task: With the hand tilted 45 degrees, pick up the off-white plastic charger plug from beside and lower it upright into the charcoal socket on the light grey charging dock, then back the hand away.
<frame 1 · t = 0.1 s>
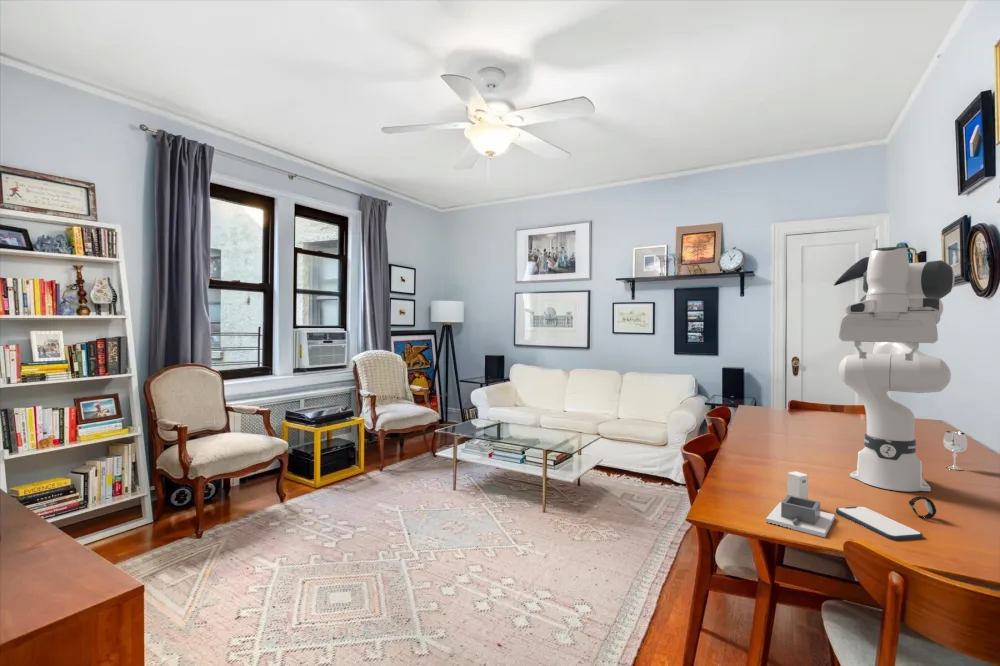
hand: (885, 359, 126), 39 cm above the table, tool pointing down, fingers open, 8 cm apart
dock: (800, 520, 118), on the table
charger: (797, 503, 129), on the table
smartwatch: (921, 517, 120), on the table
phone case: (876, 527, 116), on the table
wineglass: (954, 469, 158), on the table
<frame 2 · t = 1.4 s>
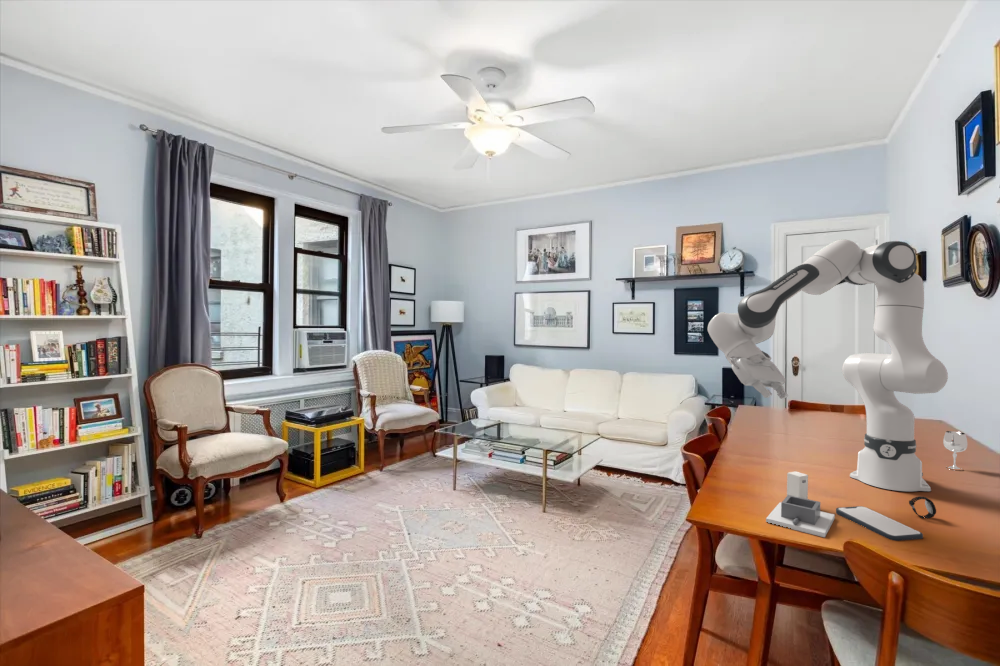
hand: (777, 397, 134), 28 cm above the table, tool tilted 45°, fingers open, 8 cm apart
nothing on the table moved.
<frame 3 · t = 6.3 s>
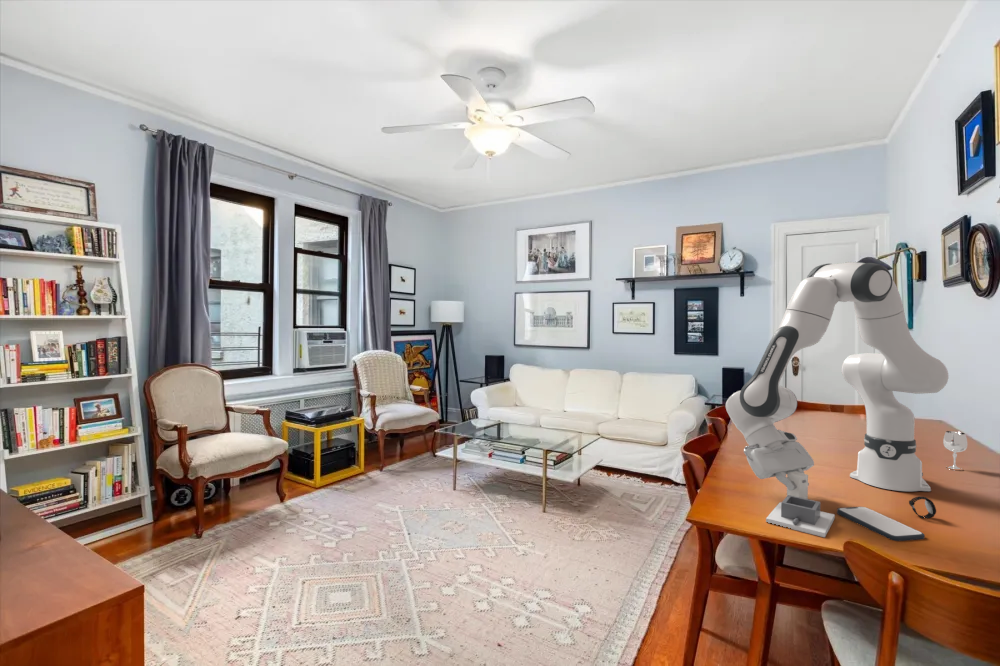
hand: (799, 487, 128), 4 cm above the table, tool tilted 45°, fingers closed on charger, 3 cm apart
charger: (797, 503, 129), on the table, touching gripper
everything else where it was.
when the fingers open (6 cm above the table, at t = 12.0 s): charger stays where it is, resting on dock.
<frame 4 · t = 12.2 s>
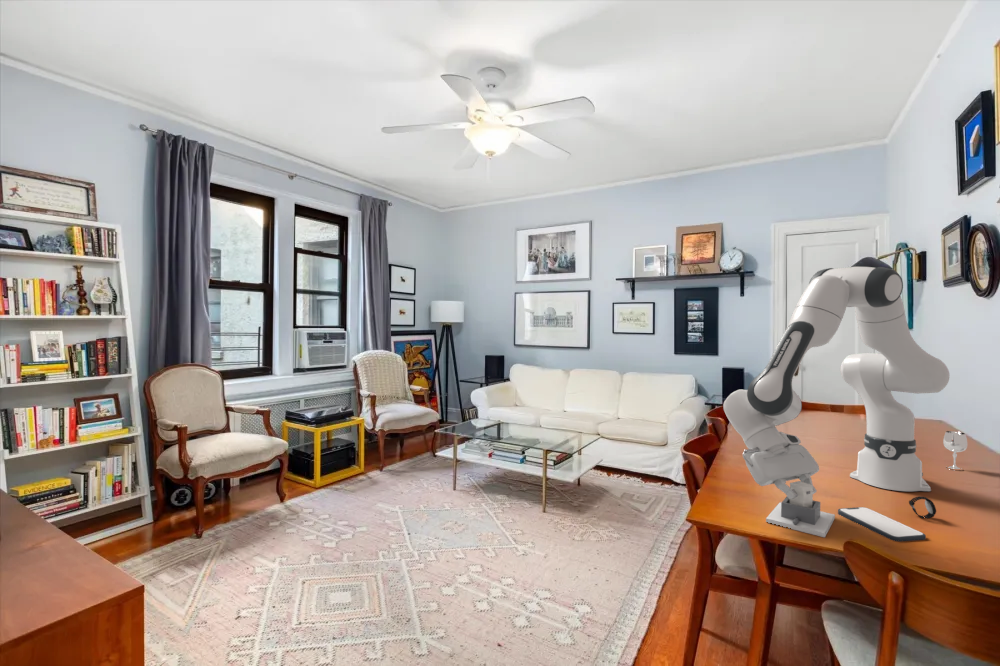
hand: (803, 495, 117), 6 cm above the table, tool tilted 45°, fingers open, 5 cm apart
charger: (800, 516, 118), point 1 cm above the table, touching dock
everything else where it was.
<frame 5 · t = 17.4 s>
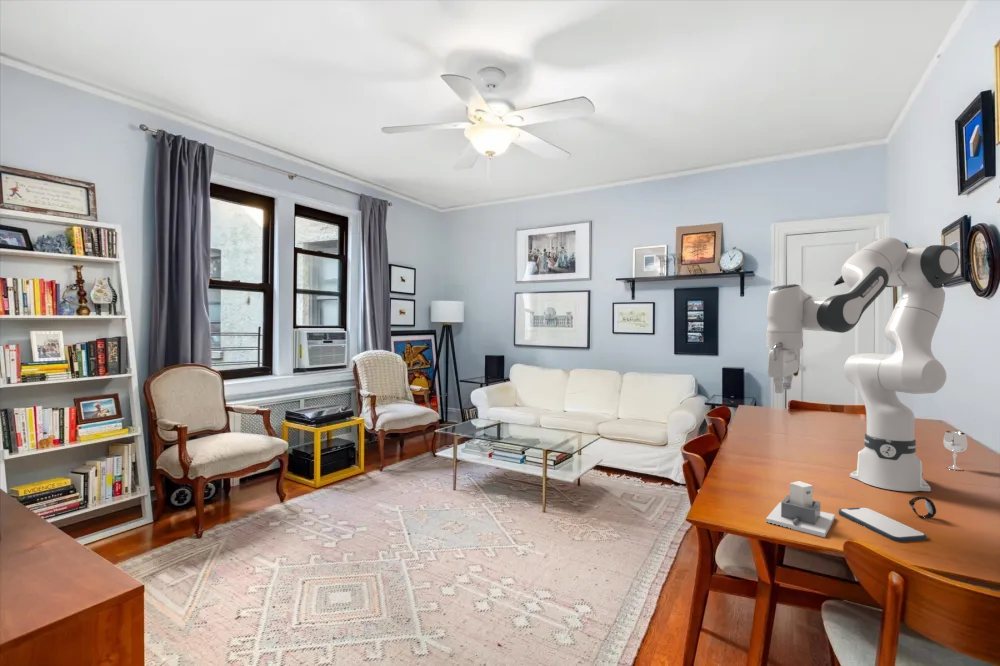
hand: (783, 391, 136), 29 cm above the table, tool pointing down, fingers open, 8 cm apart
nothing on the table moved.
at the end: charger 0.1 cm off-centre on the dock, point 1.0 cm above the dock's base; charger tilted 0°; the gripper is holding nothing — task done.
